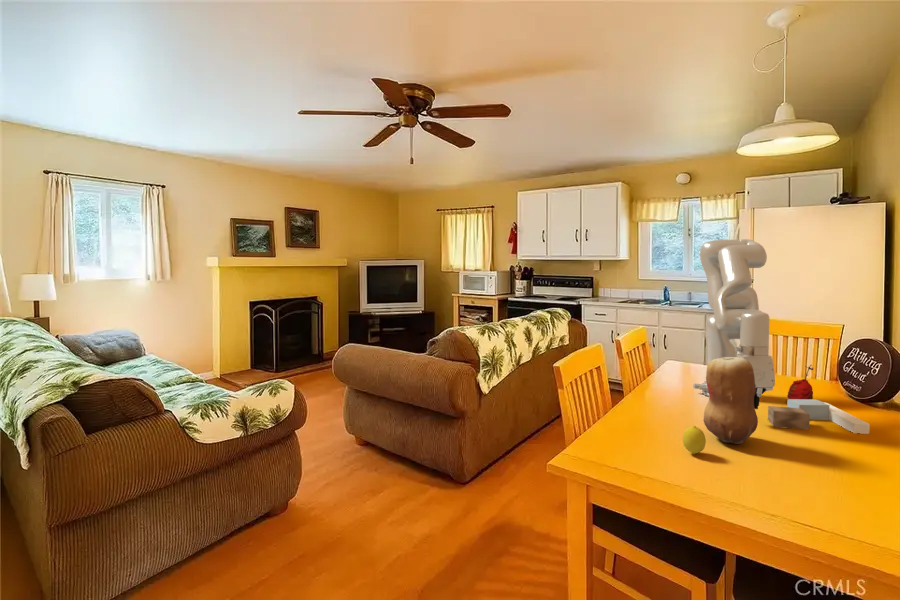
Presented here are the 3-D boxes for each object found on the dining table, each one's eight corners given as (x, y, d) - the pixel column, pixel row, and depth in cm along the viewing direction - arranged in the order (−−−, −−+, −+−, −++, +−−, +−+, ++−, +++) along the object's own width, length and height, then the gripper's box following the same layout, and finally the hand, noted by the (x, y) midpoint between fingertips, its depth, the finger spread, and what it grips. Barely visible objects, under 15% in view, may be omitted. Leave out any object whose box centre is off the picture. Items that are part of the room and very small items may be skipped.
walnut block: (774, 427, 138) (774, 412, 137) (767, 420, 143) (768, 405, 143) (809, 430, 135) (809, 414, 134) (801, 423, 140) (802, 408, 140)
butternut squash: (699, 430, 137) (701, 351, 134) (749, 435, 132) (752, 353, 130) (708, 448, 124) (711, 361, 121) (765, 454, 119) (768, 364, 117)
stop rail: (853, 433, 131) (854, 423, 131) (812, 410, 151) (812, 402, 151) (869, 434, 130) (869, 424, 130) (825, 411, 150) (826, 402, 150)
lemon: (702, 451, 122) (703, 423, 121) (707, 459, 117) (708, 430, 116) (680, 448, 124) (681, 421, 123) (684, 457, 119) (684, 428, 118)
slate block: (798, 419, 143) (799, 405, 143) (786, 413, 149) (787, 399, 149) (828, 420, 142) (829, 405, 142) (815, 413, 148) (816, 399, 148)
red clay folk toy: (795, 399, 162) (797, 360, 161) (817, 405, 156) (819, 363, 155) (783, 403, 159) (785, 362, 158) (805, 408, 153) (807, 366, 152)
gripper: (733, 352, 136) (731, 410, 137) (787, 353, 134) (785, 412, 135) (723, 348, 144) (721, 403, 145) (774, 349, 141) (772, 405, 142)
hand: (752, 407), depth 140 cm, fingers closed
